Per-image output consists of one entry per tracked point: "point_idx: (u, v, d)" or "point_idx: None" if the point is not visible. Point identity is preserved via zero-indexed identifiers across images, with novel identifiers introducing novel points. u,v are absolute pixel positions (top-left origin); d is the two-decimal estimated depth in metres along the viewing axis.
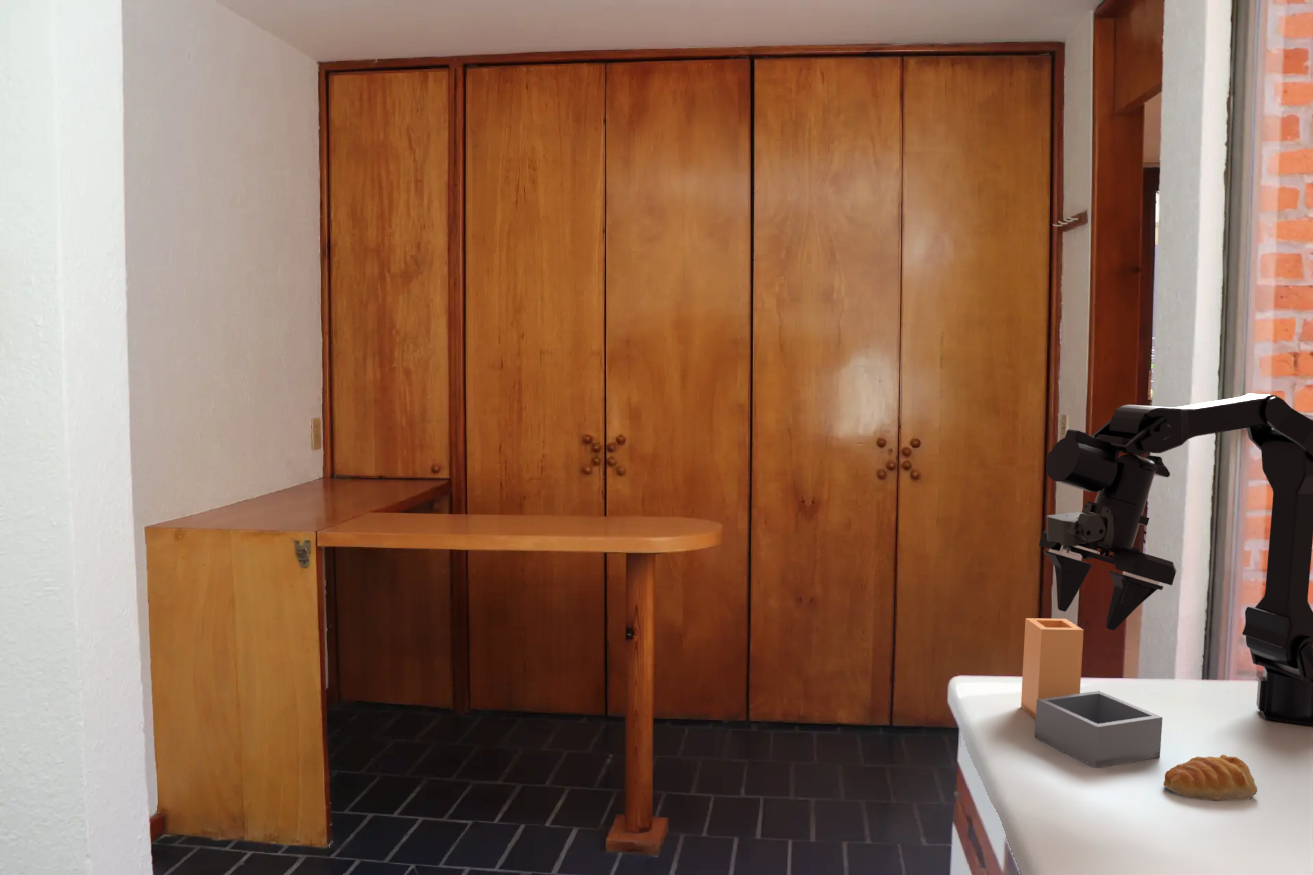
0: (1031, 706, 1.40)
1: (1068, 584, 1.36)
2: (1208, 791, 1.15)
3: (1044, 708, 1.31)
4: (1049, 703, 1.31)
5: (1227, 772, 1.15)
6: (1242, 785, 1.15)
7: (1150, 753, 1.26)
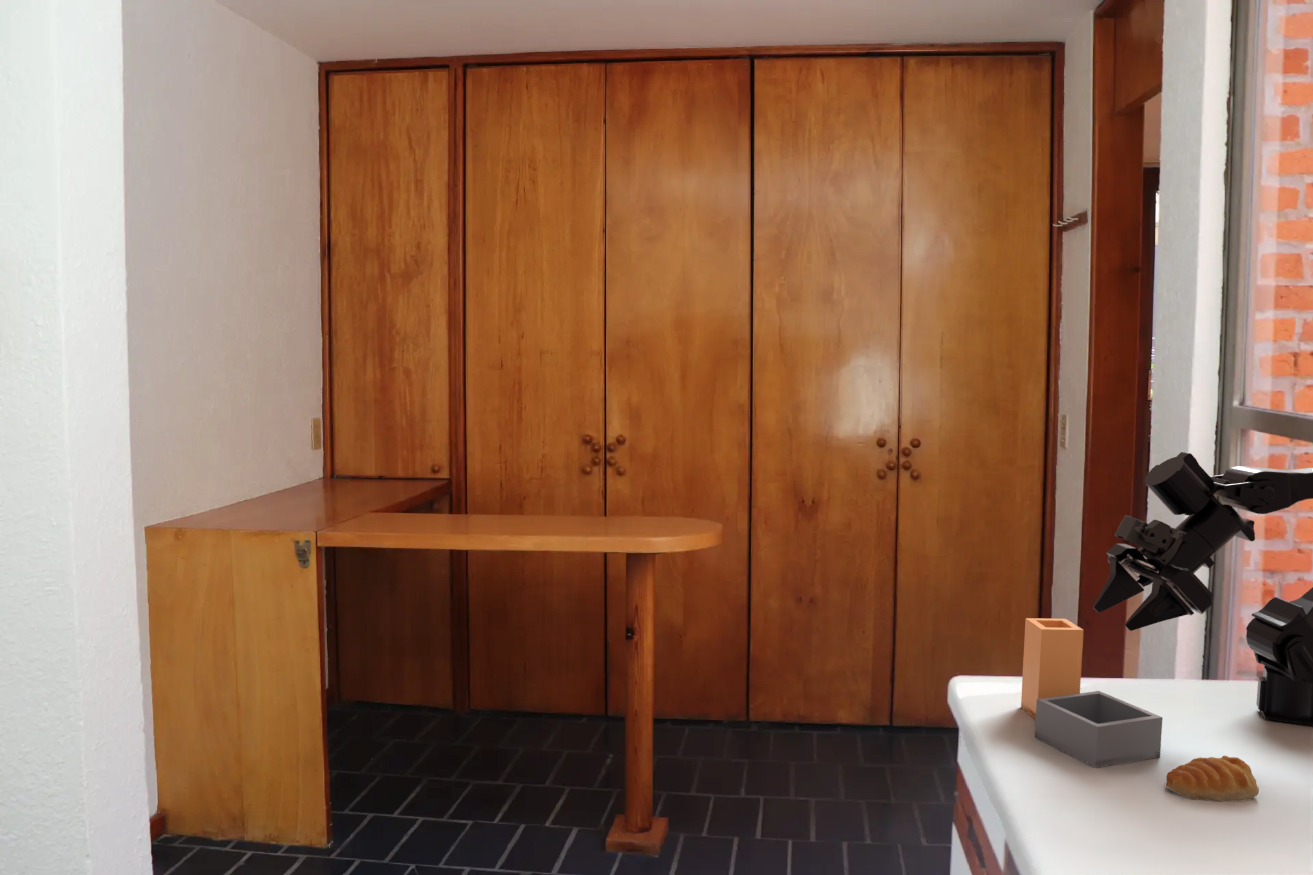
0: (1031, 706, 1.40)
1: (1113, 592, 1.45)
2: (1210, 792, 1.14)
3: (1044, 708, 1.31)
4: (1049, 703, 1.31)
5: (1229, 773, 1.15)
6: (1244, 786, 1.15)
7: (1150, 753, 1.26)
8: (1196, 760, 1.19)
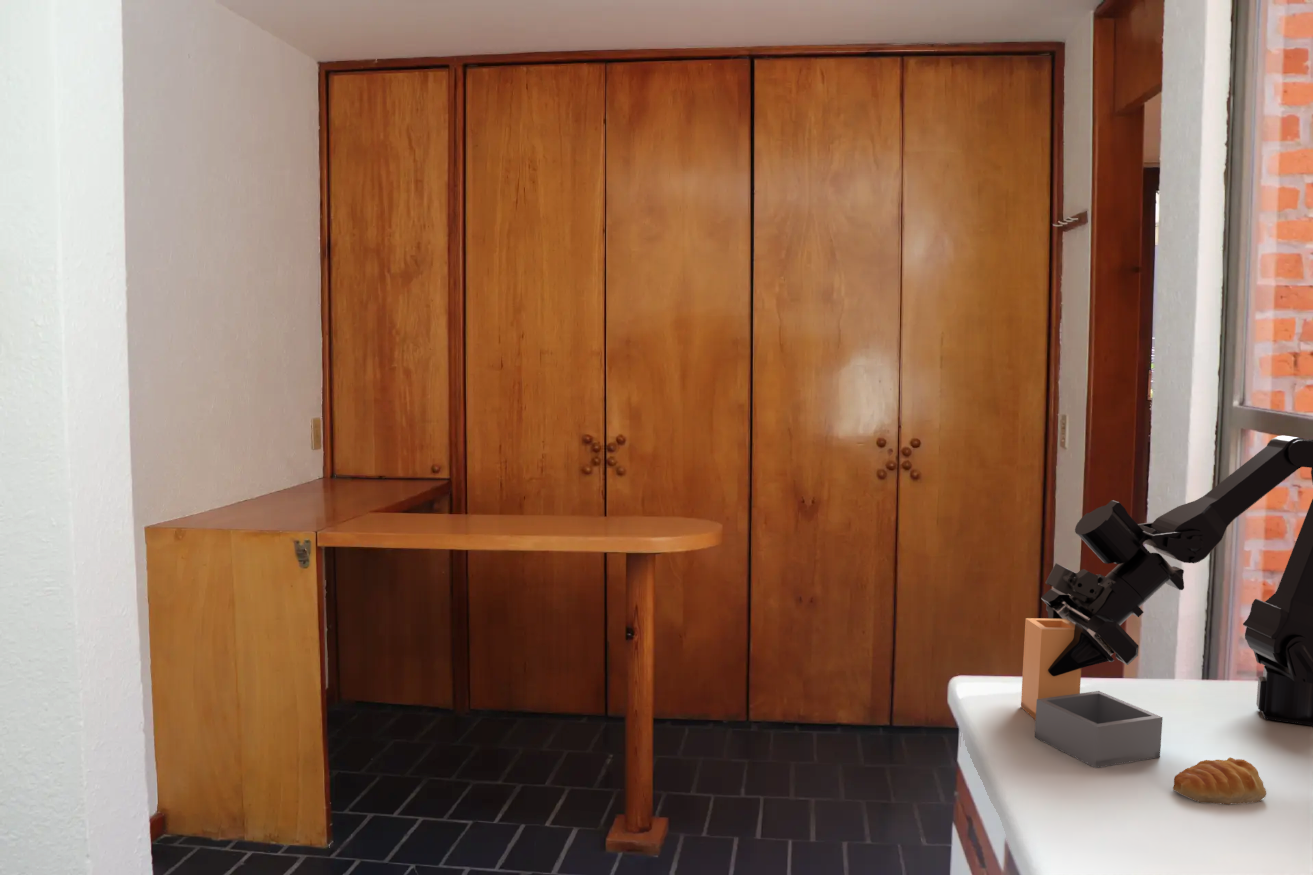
0: (1031, 706, 1.40)
1: None
2: (1218, 795, 1.14)
3: (1044, 708, 1.31)
4: (1049, 703, 1.31)
5: (1237, 776, 1.15)
6: (1252, 789, 1.14)
7: (1150, 753, 1.26)
8: (1202, 763, 1.18)
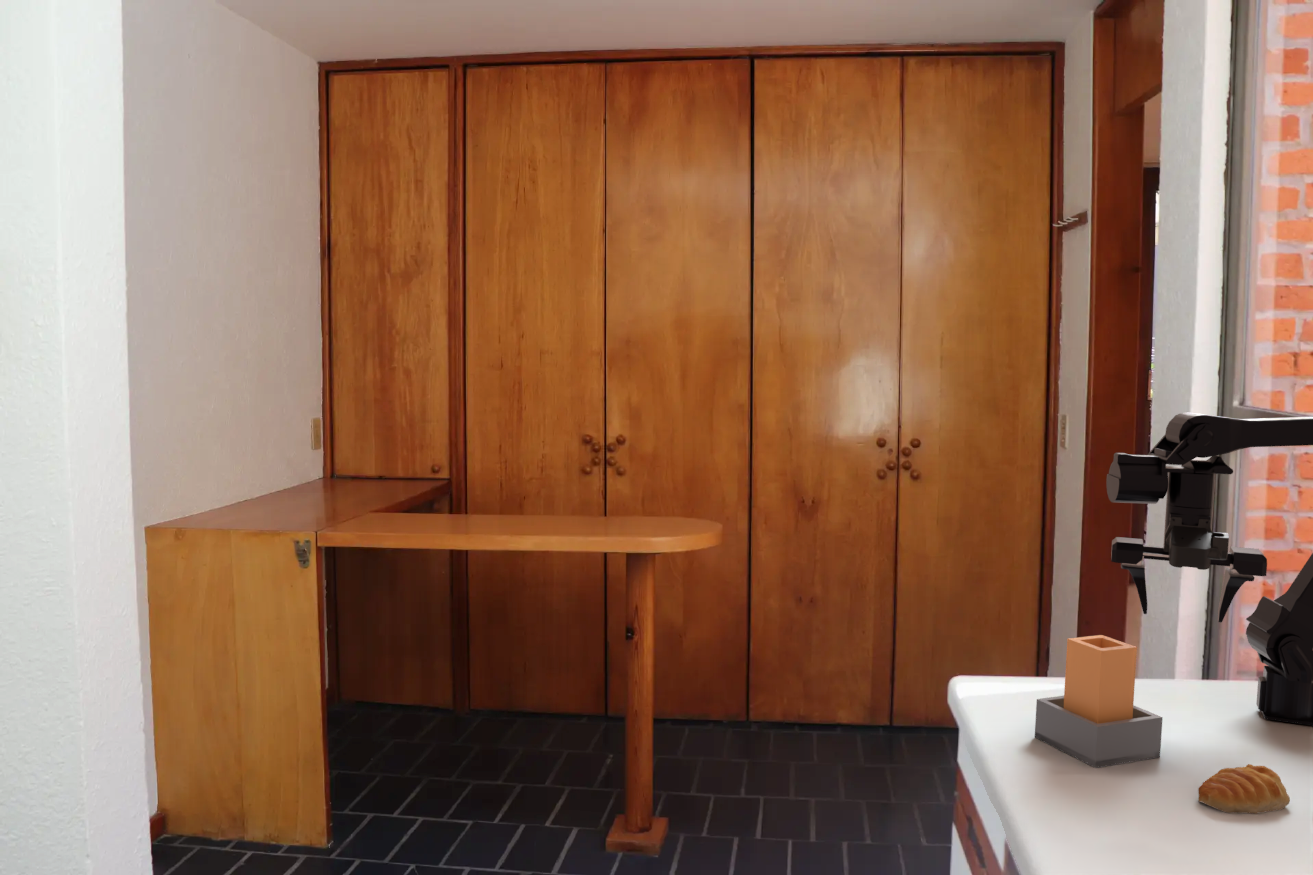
0: None
1: None
2: (1247, 805, 1.11)
3: (1044, 708, 1.31)
4: (1049, 703, 1.31)
5: (1263, 783, 1.13)
6: (1278, 796, 1.12)
7: (1150, 753, 1.26)
8: (1224, 771, 1.16)
